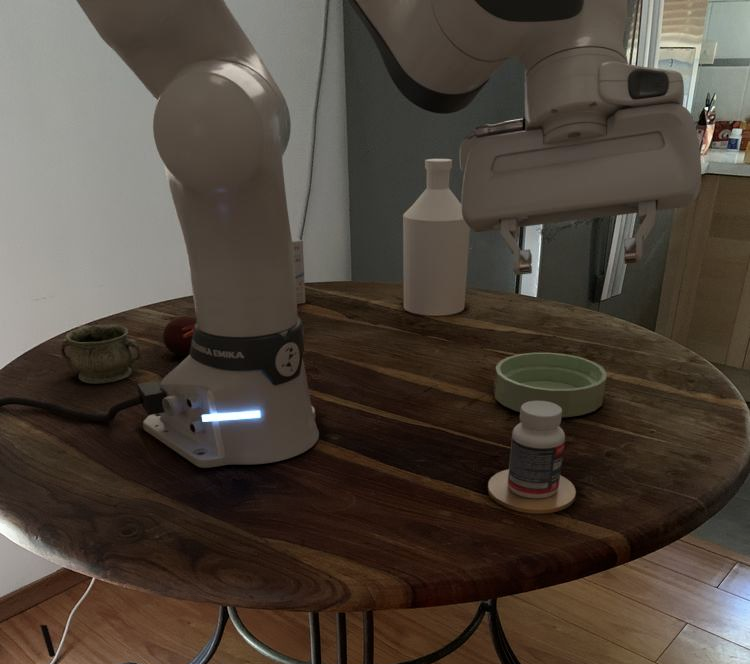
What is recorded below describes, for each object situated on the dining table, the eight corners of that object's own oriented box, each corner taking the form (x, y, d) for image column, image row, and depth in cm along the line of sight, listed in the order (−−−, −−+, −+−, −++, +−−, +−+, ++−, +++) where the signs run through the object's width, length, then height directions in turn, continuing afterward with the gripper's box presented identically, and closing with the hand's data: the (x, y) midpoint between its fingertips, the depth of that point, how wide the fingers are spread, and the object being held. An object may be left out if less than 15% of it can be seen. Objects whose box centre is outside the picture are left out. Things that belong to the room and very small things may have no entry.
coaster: (471, 495, 76) (471, 491, 76) (513, 463, 82) (513, 459, 82) (551, 523, 71) (551, 519, 71) (589, 487, 77) (590, 483, 77)
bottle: (479, 308, 136) (488, 160, 123) (428, 319, 130) (433, 165, 117) (438, 295, 144) (443, 155, 132) (389, 305, 138) (389, 159, 126)
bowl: (474, 402, 97) (475, 374, 95) (524, 372, 107) (527, 345, 105) (574, 429, 90) (578, 399, 88) (619, 394, 99) (624, 366, 97)
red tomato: (198, 343, 119) (193, 307, 116) (229, 357, 114) (224, 318, 111) (156, 354, 115) (150, 316, 112) (186, 368, 109) (181, 329, 106)
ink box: (264, 309, 136) (258, 243, 131) (255, 303, 140) (249, 238, 134) (306, 303, 140) (303, 238, 134) (296, 297, 144) (292, 234, 138)
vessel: (53, 385, 104) (42, 342, 101) (77, 364, 112) (67, 323, 109) (136, 385, 104) (128, 342, 100) (154, 364, 111) (148, 323, 108)
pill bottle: (558, 502, 74) (569, 421, 69) (505, 497, 75) (513, 417, 70) (558, 477, 78) (568, 399, 74) (508, 473, 79) (515, 396, 75)
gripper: (452, 113, 65) (453, 269, 65) (703, 69, 59) (704, 242, 59) (466, 144, 71) (467, 287, 71) (695, 108, 65) (696, 265, 65)
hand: (576, 267), depth 65 cm, fingers open, 8 cm apart
